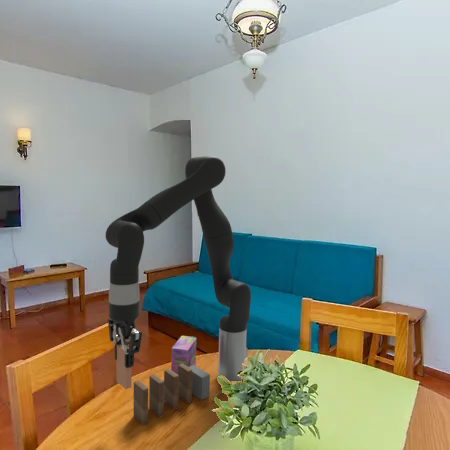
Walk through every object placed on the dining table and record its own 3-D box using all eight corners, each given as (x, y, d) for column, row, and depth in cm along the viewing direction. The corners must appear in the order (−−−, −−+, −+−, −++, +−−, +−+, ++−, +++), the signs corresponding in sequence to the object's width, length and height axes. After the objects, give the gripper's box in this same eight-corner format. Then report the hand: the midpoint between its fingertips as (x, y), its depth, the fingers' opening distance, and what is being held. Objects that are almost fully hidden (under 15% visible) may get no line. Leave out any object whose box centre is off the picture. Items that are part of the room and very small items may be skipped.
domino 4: (181, 394, 110) (182, 363, 109) (191, 401, 107) (192, 369, 106) (177, 396, 109) (177, 364, 108) (187, 403, 106) (188, 371, 105)
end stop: (193, 385, 115) (193, 364, 115) (209, 396, 110) (209, 374, 109) (185, 388, 113) (186, 367, 113) (201, 399, 108) (202, 377, 107)
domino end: (122, 379, 95) (122, 343, 94) (131, 387, 92) (131, 349, 91) (116, 381, 94) (116, 345, 93) (125, 389, 91) (125, 351, 90)
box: (187, 384, 116) (187, 349, 115) (170, 382, 117) (171, 347, 116) (196, 369, 126) (196, 337, 125) (180, 367, 127) (181, 335, 126)
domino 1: (138, 414, 100) (138, 380, 99) (148, 422, 96) (148, 387, 96) (133, 416, 99) (133, 382, 98) (142, 425, 95) (143, 390, 94)
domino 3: (168, 400, 107) (168, 368, 106) (178, 408, 103) (178, 375, 102) (163, 402, 106) (164, 370, 105) (173, 410, 102) (174, 377, 101)
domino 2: (153, 406, 104) (154, 374, 103) (163, 415, 100) (164, 381, 99) (149, 409, 102) (149, 376, 101) (158, 417, 99) (159, 383, 98)
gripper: (152, 303, 88) (151, 368, 90) (124, 290, 99) (124, 349, 100) (124, 309, 83) (124, 378, 85) (98, 295, 93) (98, 357, 95)
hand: (124, 362), depth 93 cm, fingers closed on domino end, 5 cm apart
